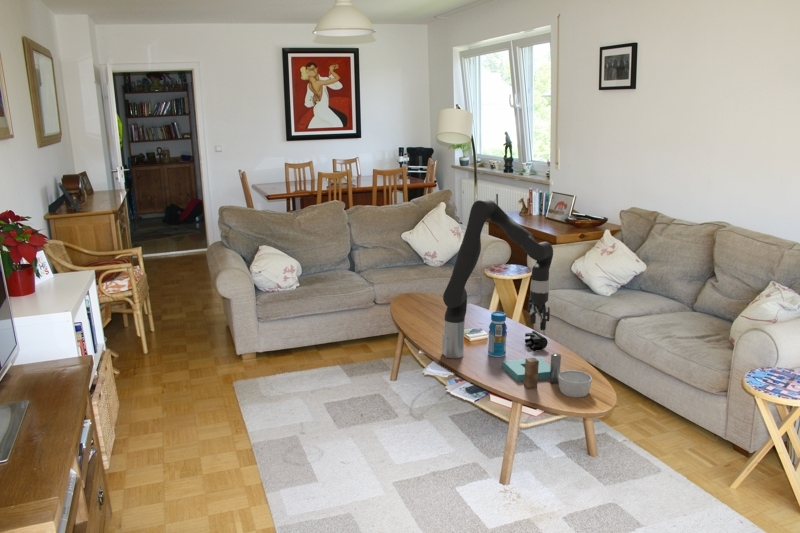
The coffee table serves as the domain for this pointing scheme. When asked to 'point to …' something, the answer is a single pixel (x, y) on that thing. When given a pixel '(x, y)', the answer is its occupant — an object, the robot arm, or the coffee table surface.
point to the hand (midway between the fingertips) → (537, 326)
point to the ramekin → (574, 383)
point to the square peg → (531, 373)
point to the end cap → (535, 341)
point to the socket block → (518, 369)
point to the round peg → (555, 368)
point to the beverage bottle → (497, 335)
